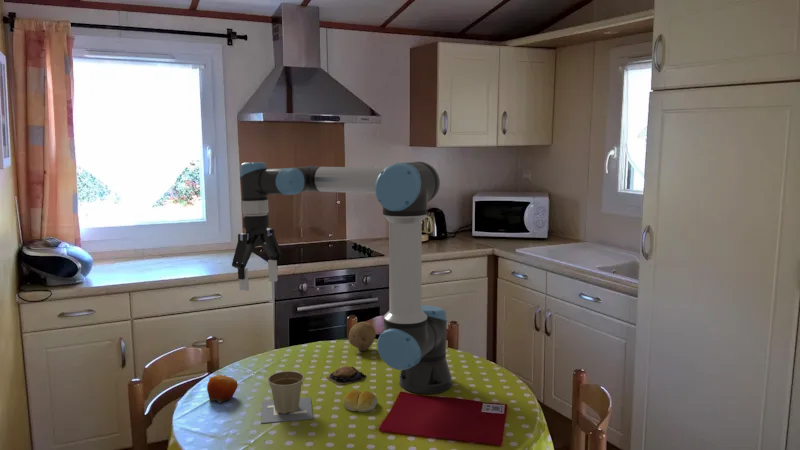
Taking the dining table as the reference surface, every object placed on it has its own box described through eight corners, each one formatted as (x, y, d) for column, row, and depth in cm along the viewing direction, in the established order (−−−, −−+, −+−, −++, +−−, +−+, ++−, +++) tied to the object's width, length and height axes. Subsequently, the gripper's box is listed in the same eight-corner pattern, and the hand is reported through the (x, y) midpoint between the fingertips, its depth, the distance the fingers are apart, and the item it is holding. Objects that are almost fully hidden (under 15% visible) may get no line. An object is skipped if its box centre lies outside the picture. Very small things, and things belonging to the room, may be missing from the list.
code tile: (261, 423, 154) (261, 422, 154) (262, 401, 167) (262, 400, 167) (313, 419, 157) (313, 417, 157) (310, 397, 169) (310, 396, 169)
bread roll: (348, 398, 170) (348, 384, 169) (379, 402, 167) (379, 388, 167) (338, 411, 162) (338, 396, 161) (370, 415, 160) (370, 400, 159)
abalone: (339, 388, 177) (339, 376, 177) (324, 379, 184) (324, 367, 183) (369, 379, 184) (369, 367, 183) (354, 370, 190) (354, 359, 190)
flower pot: (301, 417, 157) (300, 385, 156) (264, 416, 157) (263, 384, 156) (307, 401, 166) (307, 371, 165) (273, 401, 166) (272, 370, 165)
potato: (365, 357, 200) (365, 328, 199) (343, 352, 205) (342, 323, 203) (380, 349, 208) (380, 320, 207) (358, 344, 212) (358, 316, 211)
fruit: (196, 400, 164) (204, 370, 167) (212, 404, 171) (220, 375, 174) (221, 405, 161) (229, 374, 164) (237, 409, 168) (245, 379, 171)
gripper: (271, 210, 194) (274, 276, 196) (216, 218, 172) (220, 293, 174) (291, 211, 191) (294, 278, 193) (237, 219, 168) (241, 295, 171)
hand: (259, 285), depth 184 cm, fingers open, 13 cm apart
